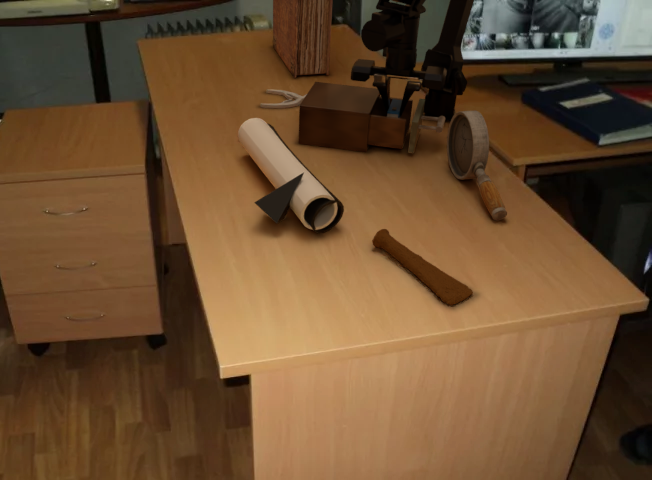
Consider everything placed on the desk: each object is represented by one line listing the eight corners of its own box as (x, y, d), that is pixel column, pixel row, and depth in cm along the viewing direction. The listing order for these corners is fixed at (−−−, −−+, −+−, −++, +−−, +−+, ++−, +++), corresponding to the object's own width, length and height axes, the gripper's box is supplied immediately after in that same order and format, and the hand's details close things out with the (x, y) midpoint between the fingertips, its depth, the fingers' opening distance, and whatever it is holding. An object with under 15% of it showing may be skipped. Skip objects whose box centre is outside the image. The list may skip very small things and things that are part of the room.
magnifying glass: (520, 188, 124) (472, 96, 139) (503, 190, 124) (457, 97, 139) (497, 239, 135) (455, 147, 150) (482, 240, 134) (441, 148, 149)
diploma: (255, 166, 154) (205, 137, 146) (281, 130, 151) (231, 98, 143) (322, 253, 127) (265, 223, 119) (355, 210, 124) (298, 177, 116)
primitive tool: (474, 294, 112) (477, 275, 110) (450, 308, 109) (454, 289, 107) (384, 241, 124) (386, 223, 122) (361, 252, 121) (362, 234, 119)
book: (328, 76, 188) (335, -50, 171) (294, 78, 186) (297, -48, 169) (304, 44, 208) (307, -70, 191) (272, 47, 206) (273, -69, 189)
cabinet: (377, 126, 163) (380, 88, 158) (366, 152, 152) (369, 113, 147) (313, 118, 166) (315, 81, 161) (298, 143, 155) (299, 105, 150)
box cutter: (391, 109, 158) (392, 97, 156) (402, 110, 157) (404, 98, 155) (384, 127, 150) (385, 114, 148) (396, 128, 150) (397, 115, 148)
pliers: (266, 85, 178) (328, 89, 176) (266, 91, 179) (327, 95, 177) (260, 100, 170) (324, 105, 168) (260, 107, 171) (323, 111, 169)
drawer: (443, 131, 159) (448, 101, 155) (437, 156, 149) (442, 125, 145) (360, 121, 163) (362, 91, 159) (349, 145, 153) (351, 114, 149)
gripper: (454, 31, 148) (443, 105, 157) (363, 23, 152) (357, 95, 161) (449, 48, 139) (437, 125, 149) (352, 39, 143) (347, 114, 153)
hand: (394, 114), depth 153 cm, fingers closed on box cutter, 2 cm apart
